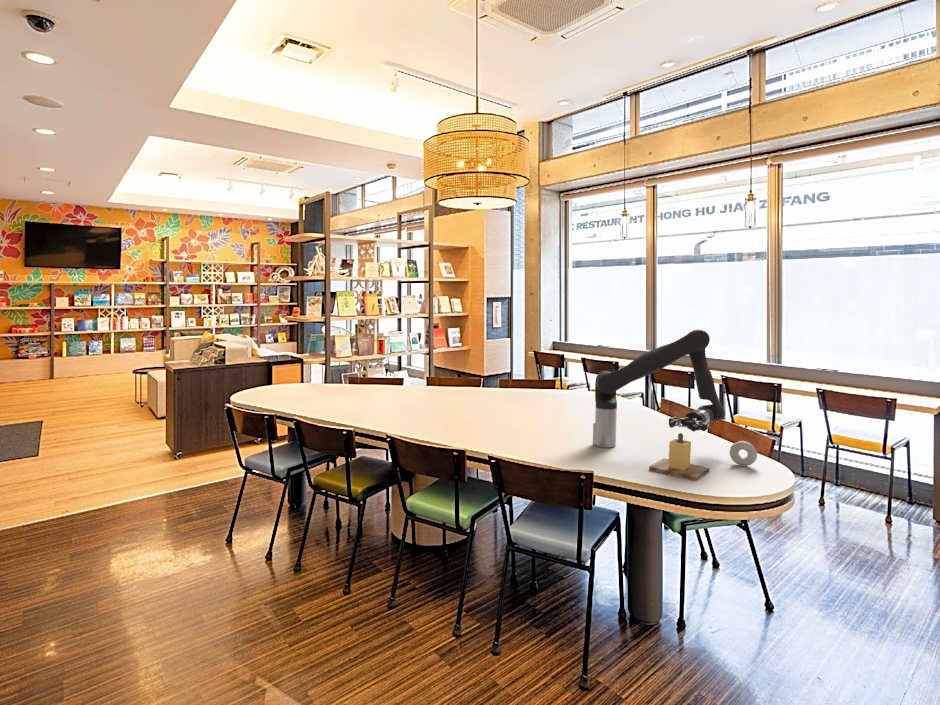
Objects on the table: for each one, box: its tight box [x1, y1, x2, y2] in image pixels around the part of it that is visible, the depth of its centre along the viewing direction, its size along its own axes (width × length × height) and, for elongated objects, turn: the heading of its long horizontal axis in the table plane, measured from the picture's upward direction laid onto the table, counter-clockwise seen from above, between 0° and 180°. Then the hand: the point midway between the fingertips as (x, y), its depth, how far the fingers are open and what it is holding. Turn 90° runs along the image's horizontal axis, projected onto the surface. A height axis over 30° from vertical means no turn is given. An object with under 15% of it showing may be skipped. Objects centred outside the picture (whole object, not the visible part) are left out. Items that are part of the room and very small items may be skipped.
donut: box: [729, 440, 758, 467], centre depth 222 cm, size 10×4×10 cm, turn 53°
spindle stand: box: [648, 432, 710, 481], centre depth 215 cm, size 18×14×15 cm
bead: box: [668, 438, 692, 470], centre depth 216 cm, size 6×6×10 cm
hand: (681, 426), depth 215 cm, fingers open, 8 cm apart
